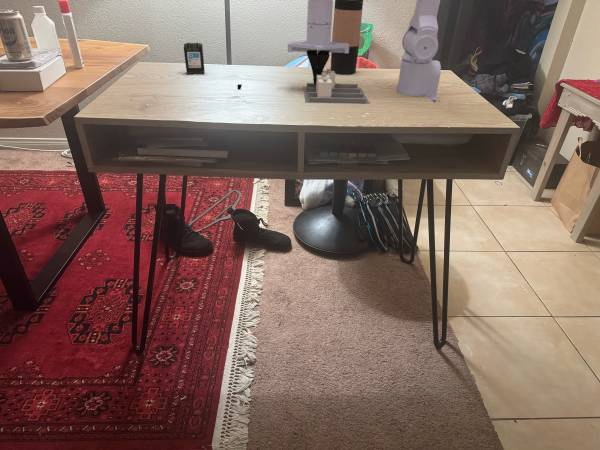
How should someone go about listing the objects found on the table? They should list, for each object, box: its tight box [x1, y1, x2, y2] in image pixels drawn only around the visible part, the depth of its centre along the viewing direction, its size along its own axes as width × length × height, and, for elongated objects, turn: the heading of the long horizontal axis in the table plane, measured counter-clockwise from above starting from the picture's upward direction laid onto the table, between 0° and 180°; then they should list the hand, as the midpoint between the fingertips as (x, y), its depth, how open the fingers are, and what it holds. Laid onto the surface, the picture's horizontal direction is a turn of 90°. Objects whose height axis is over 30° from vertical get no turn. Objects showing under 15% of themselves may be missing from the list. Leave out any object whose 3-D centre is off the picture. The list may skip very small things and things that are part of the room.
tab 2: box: [317, 77, 332, 98], centre depth 99 cm, size 3×3×5 cm
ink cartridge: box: [183, 42, 206, 75], centre depth 119 cm, size 5×2×8 cm, turn 99°
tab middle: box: [316, 72, 330, 92], centre depth 103 cm, size 3×3×5 cm
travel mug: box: [330, 0, 364, 76], centre depth 119 cm, size 8×8×20 cm
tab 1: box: [323, 68, 336, 88], centre depth 106 cm, size 3×3×5 cm
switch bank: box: [302, 82, 371, 105], centre depth 104 cm, size 15×13×2 cm
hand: (316, 82), depth 106 cm, fingers closed
